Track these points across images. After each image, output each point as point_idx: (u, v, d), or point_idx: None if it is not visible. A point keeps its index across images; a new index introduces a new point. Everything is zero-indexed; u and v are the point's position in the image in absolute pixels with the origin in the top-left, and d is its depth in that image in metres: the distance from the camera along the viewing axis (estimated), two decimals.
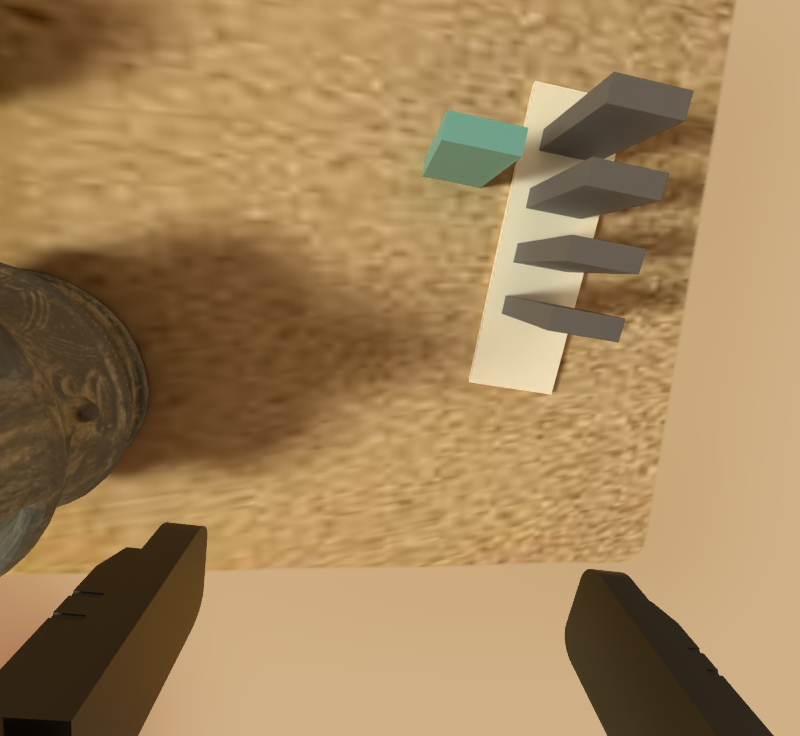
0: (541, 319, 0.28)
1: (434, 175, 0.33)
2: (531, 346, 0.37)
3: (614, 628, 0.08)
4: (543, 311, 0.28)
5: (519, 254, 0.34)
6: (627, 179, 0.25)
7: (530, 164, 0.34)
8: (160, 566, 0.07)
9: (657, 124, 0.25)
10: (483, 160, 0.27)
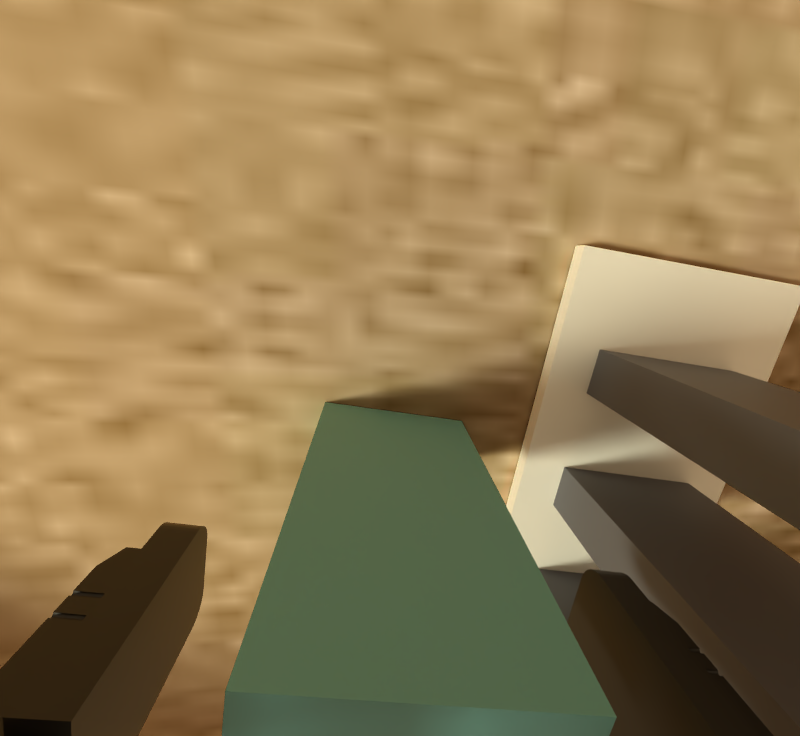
0: None
1: None
2: None
3: (614, 628, 0.08)
4: None
5: None
6: None
7: (565, 421, 0.15)
8: (160, 566, 0.07)
9: None
10: None
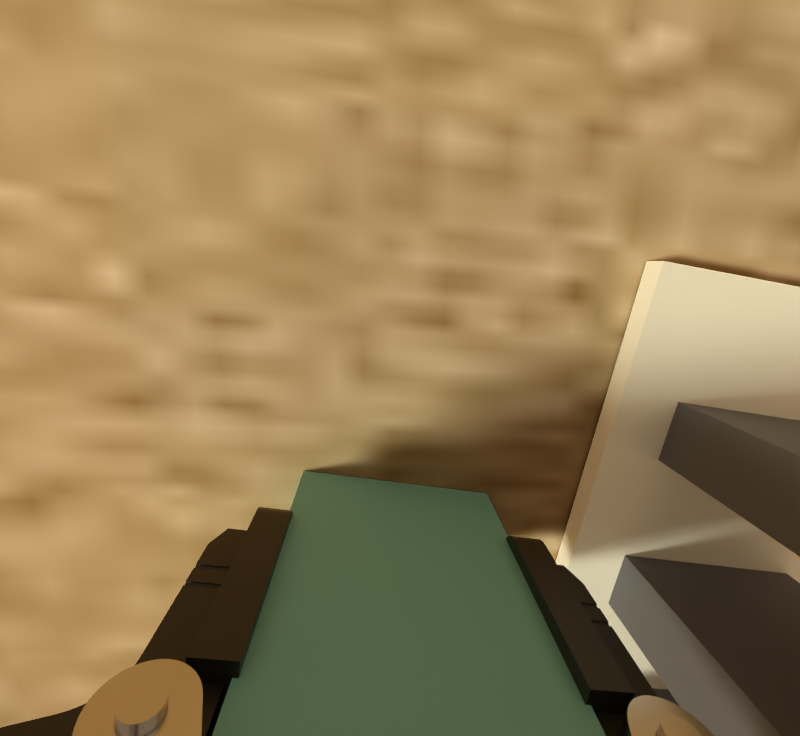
0: None
1: None
2: None
3: None
4: None
5: None
6: None
7: (628, 497, 0.11)
8: (268, 543, 0.07)
9: None
10: None
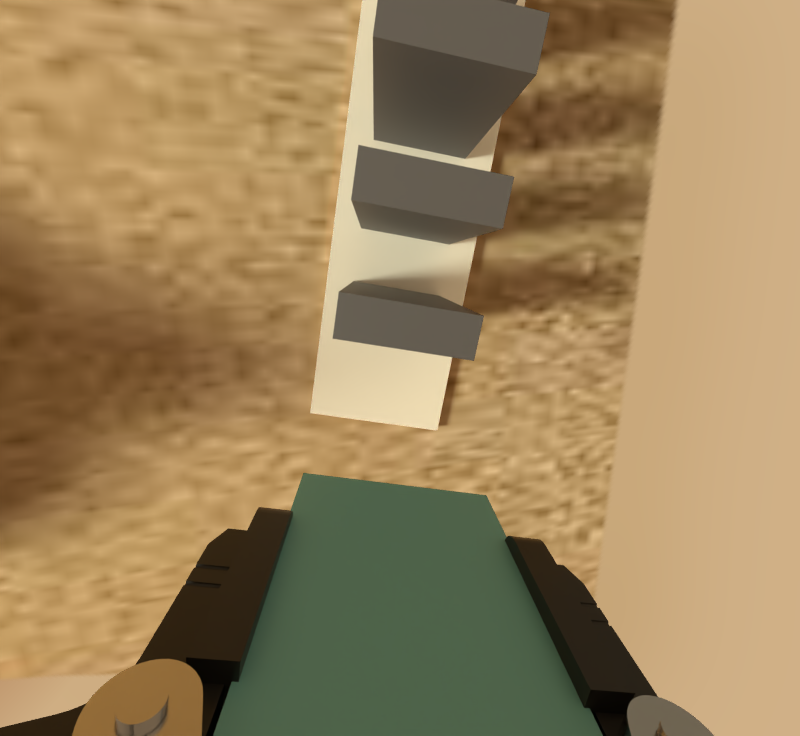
0: None
1: None
2: (400, 358, 0.24)
3: None
4: None
5: None
6: (462, 25, 0.12)
7: None
8: (268, 543, 0.07)
9: None
10: None
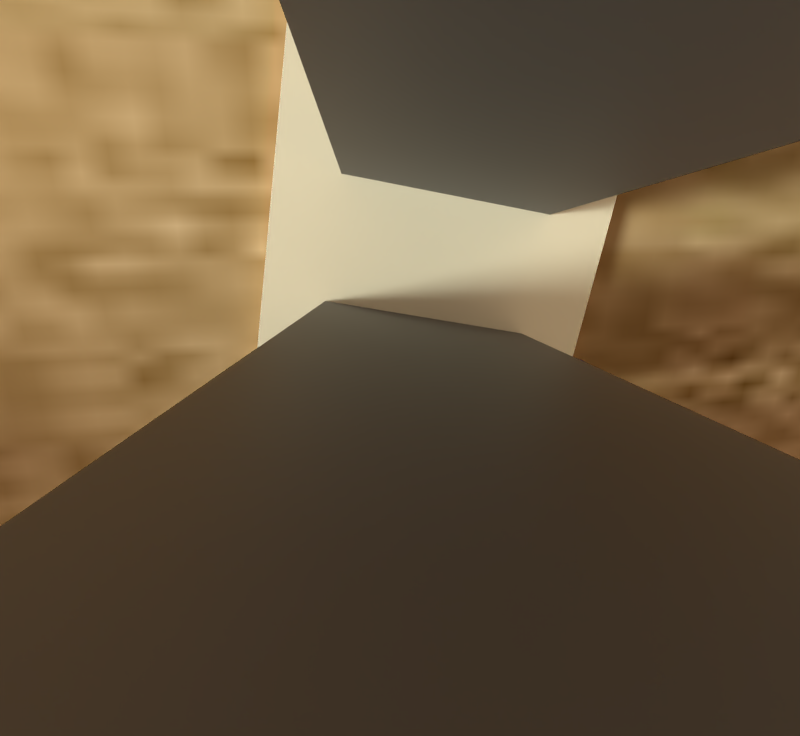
0: None
1: None
2: None
3: None
4: None
5: None
6: None
7: None
8: None
9: None
10: None
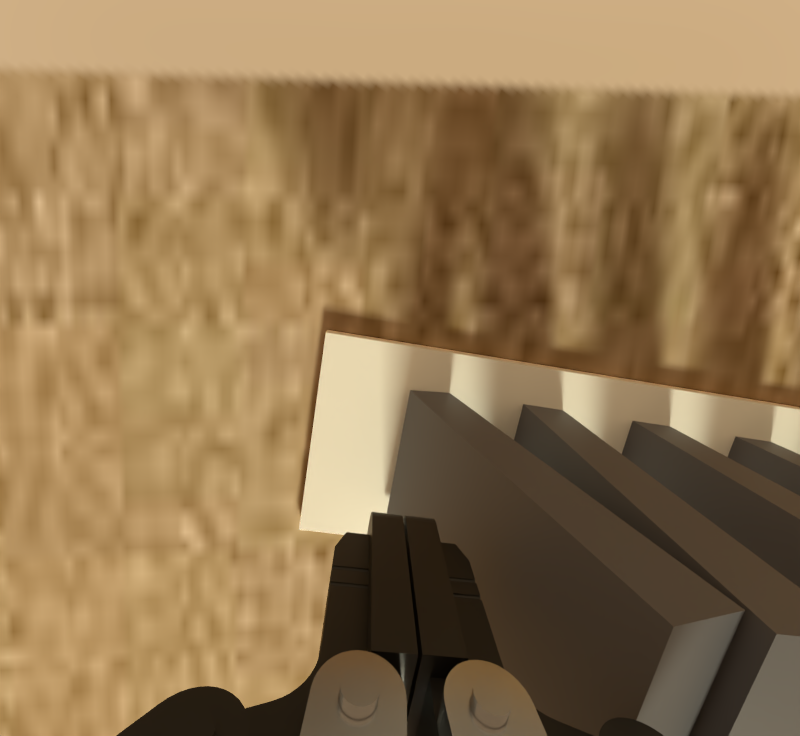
0: None
1: None
2: None
3: None
4: None
5: None
6: None
7: None
8: (395, 546, 0.08)
9: None
10: None
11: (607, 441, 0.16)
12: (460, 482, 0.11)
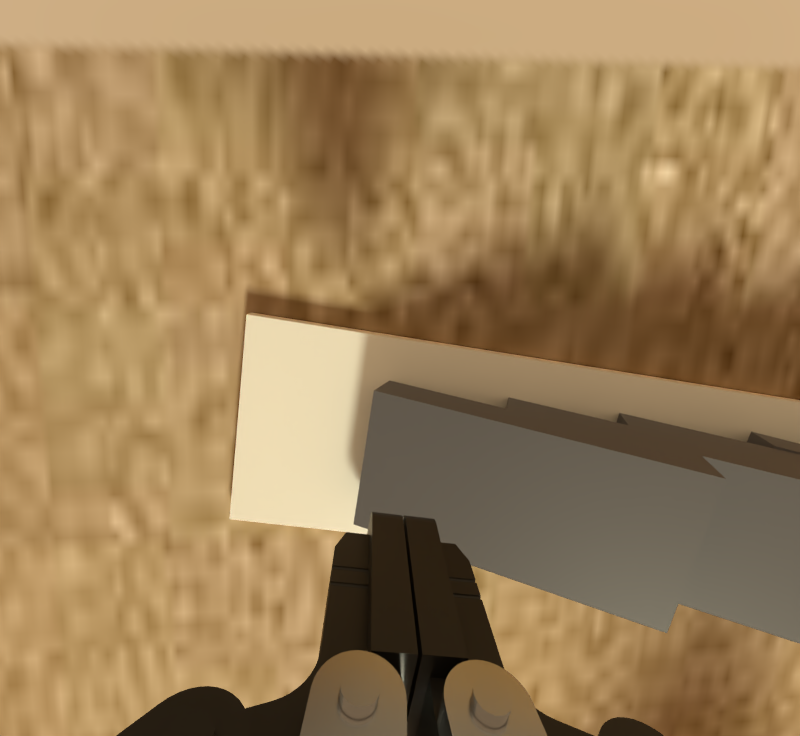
0: None
1: None
2: None
3: None
4: None
5: None
6: None
7: None
8: (395, 546, 0.08)
9: None
10: None
11: None
12: (499, 459, 0.12)
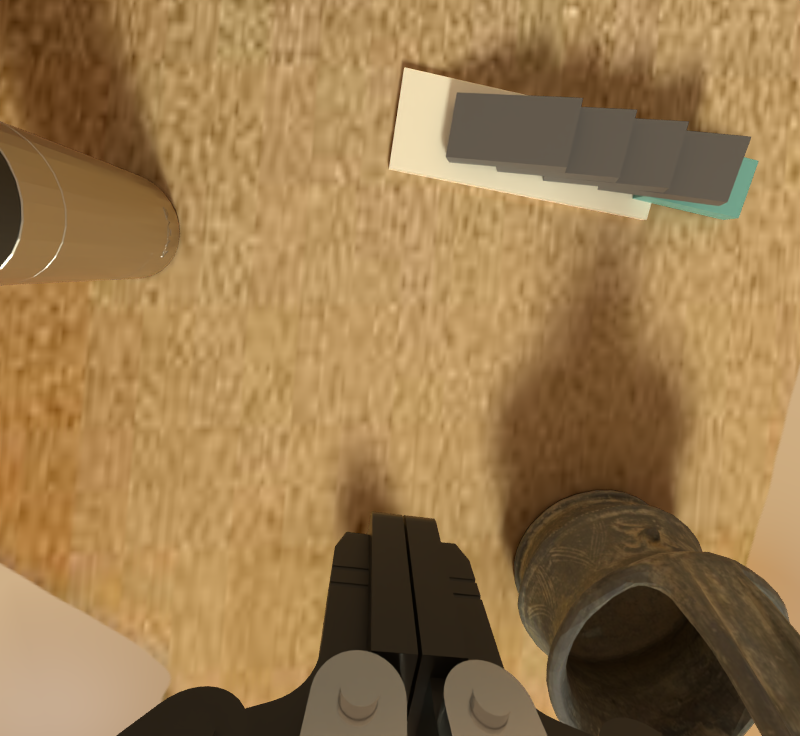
0: (704, 202, 0.35)
1: None
2: None
3: None
4: (706, 200, 0.35)
5: (557, 180, 0.37)
6: None
7: (455, 168, 0.37)
8: (395, 546, 0.08)
9: None
10: None
11: None
12: (505, 110, 0.33)
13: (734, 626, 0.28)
